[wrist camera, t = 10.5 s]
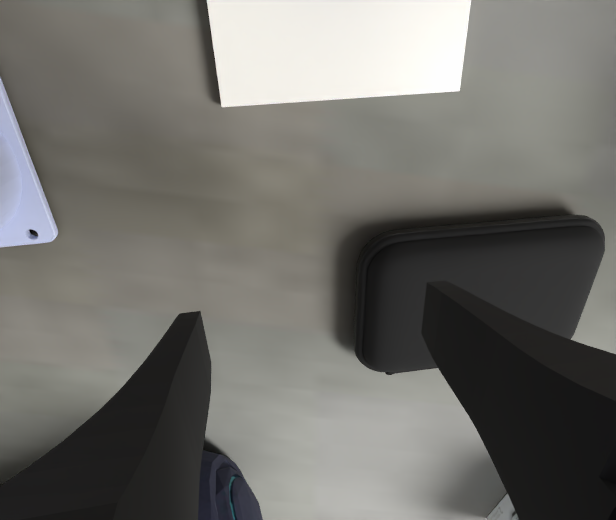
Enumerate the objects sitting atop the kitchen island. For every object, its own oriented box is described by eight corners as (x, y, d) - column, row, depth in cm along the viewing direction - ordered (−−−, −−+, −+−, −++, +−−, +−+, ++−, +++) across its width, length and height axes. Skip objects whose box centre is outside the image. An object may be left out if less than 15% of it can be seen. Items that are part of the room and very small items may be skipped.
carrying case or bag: (346, 368, 27) (544, 342, 29) (358, 403, 25) (575, 372, 26) (351, 223, 22) (590, 203, 24) (367, 247, 20) (634, 223, 21)
